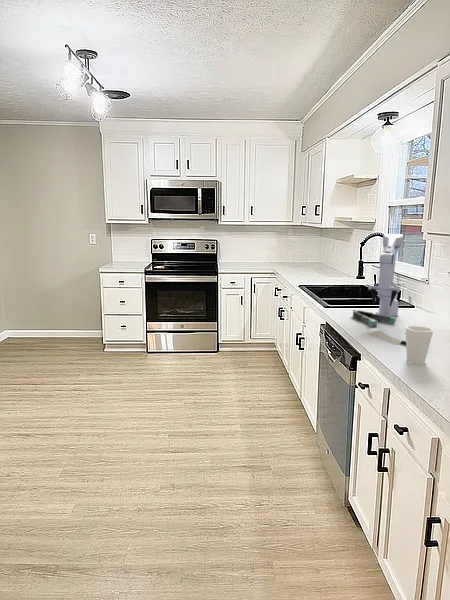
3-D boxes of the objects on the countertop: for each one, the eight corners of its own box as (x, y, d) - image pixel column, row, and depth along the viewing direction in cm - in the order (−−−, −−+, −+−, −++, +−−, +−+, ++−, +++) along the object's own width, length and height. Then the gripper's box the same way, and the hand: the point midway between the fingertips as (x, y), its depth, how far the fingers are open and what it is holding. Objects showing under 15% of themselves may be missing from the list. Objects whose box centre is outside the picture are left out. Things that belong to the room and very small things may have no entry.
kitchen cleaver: (361, 332, 213) (378, 328, 217) (361, 336, 214) (378, 332, 217) (412, 353, 185) (431, 347, 189) (412, 357, 185) (431, 351, 189)
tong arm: (351, 316, 247) (352, 310, 246) (355, 315, 250) (356, 309, 249) (391, 324, 231) (392, 317, 231) (395, 323, 234) (396, 316, 234)
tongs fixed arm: (351, 318, 244) (352, 312, 243) (356, 318, 245) (357, 312, 244) (371, 327, 226) (372, 320, 225) (377, 326, 227) (377, 320, 226)
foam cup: (404, 364, 172) (408, 330, 169) (400, 357, 181) (403, 324, 178) (431, 366, 170) (436, 332, 168) (425, 359, 179) (429, 326, 177)
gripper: (369, 276, 225) (366, 304, 227) (401, 279, 221) (398, 307, 222) (369, 276, 232) (367, 303, 233) (400, 279, 227) (397, 306, 229)
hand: (382, 305), depth 228 cm, fingers open, 7 cm apart
